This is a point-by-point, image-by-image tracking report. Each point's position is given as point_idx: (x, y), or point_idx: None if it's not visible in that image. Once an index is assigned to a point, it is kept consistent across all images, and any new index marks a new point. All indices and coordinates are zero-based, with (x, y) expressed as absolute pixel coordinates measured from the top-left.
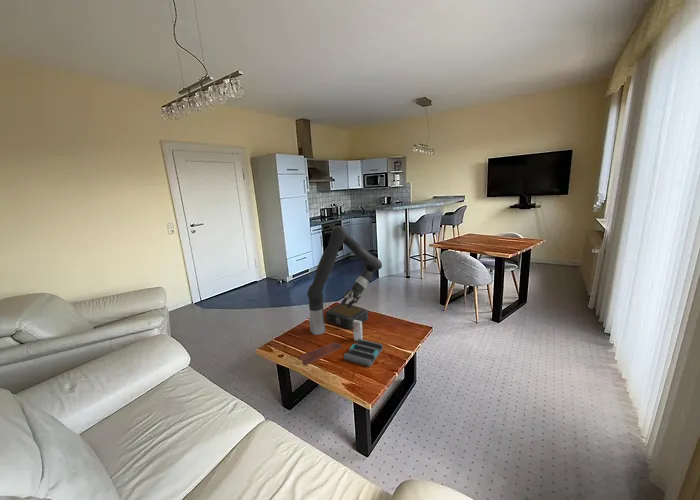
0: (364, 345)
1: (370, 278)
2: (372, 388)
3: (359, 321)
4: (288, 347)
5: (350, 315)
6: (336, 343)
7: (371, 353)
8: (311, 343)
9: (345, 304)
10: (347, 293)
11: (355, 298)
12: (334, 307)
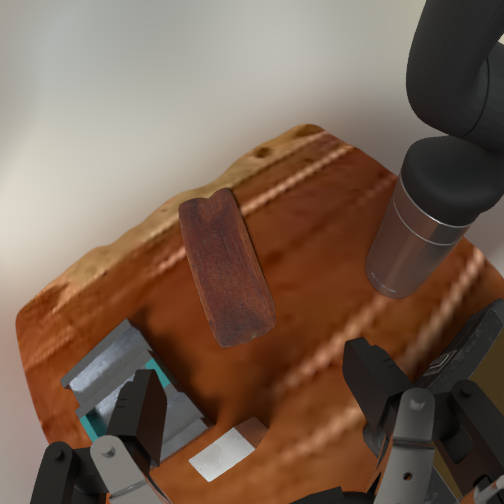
0: None
1: None
2: (28, 341)
3: (211, 467)
4: (302, 167)
5: None
6: (260, 329)
7: (86, 412)
8: (303, 231)
9: None
10: (483, 460)
11: (37, 488)
12: None
